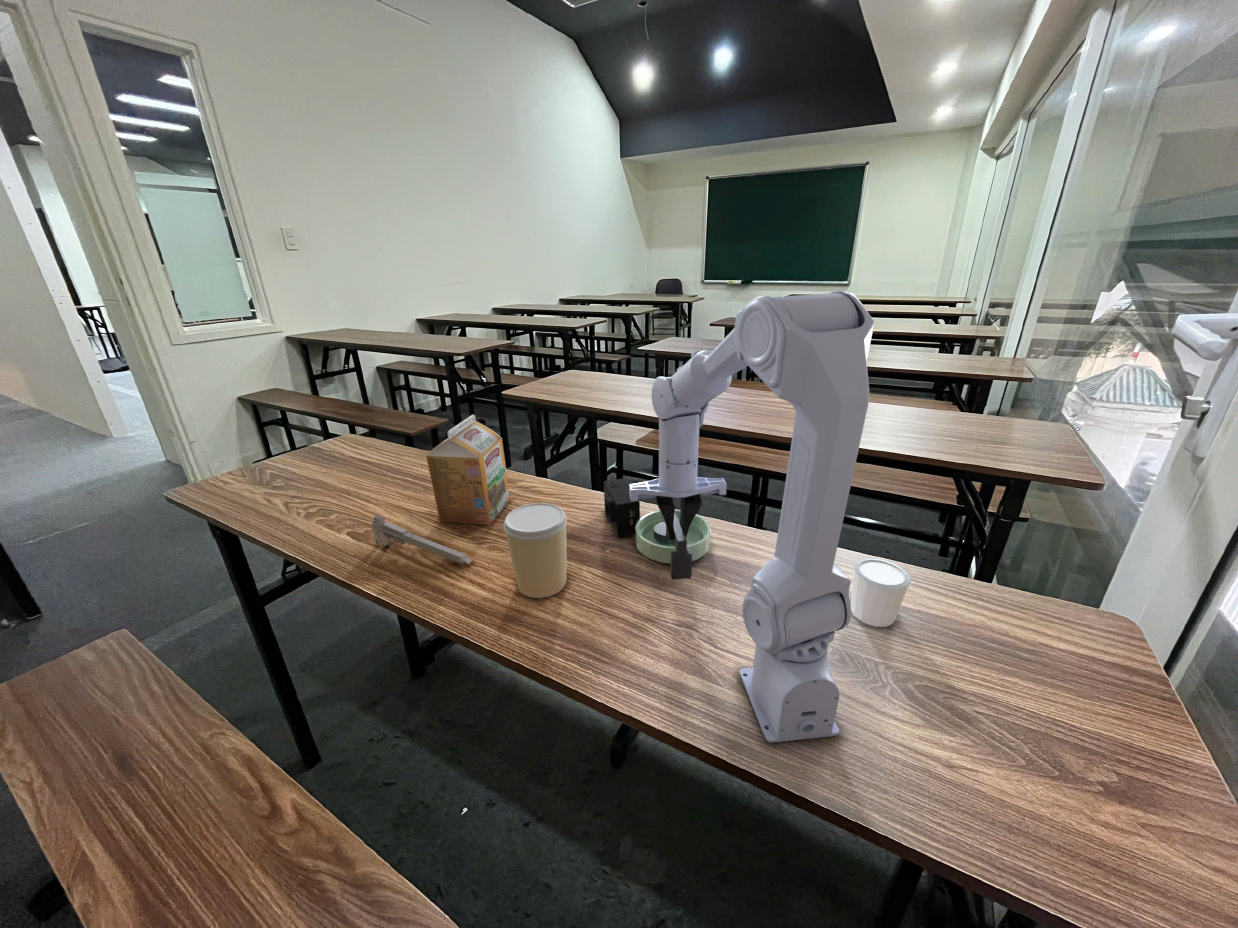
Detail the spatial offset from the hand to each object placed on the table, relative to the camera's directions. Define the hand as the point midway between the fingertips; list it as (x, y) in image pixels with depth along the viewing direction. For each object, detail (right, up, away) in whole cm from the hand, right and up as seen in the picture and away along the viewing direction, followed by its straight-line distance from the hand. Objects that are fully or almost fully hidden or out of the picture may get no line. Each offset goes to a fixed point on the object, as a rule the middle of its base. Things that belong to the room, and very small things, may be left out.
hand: (676, 536), depth 76 cm
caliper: (-44, -5, +9) cm, 45 cm away
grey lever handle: (0, -3, +5) cm, 6 cm away
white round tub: (+27, -10, -8) cm, 30 cm away
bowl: (0, -3, +9) cm, 10 cm away
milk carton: (-39, +2, +23) cm, 45 cm away
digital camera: (-9, 0, +17) cm, 19 cm away
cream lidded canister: (-21, -8, +1) cm, 23 cm away
